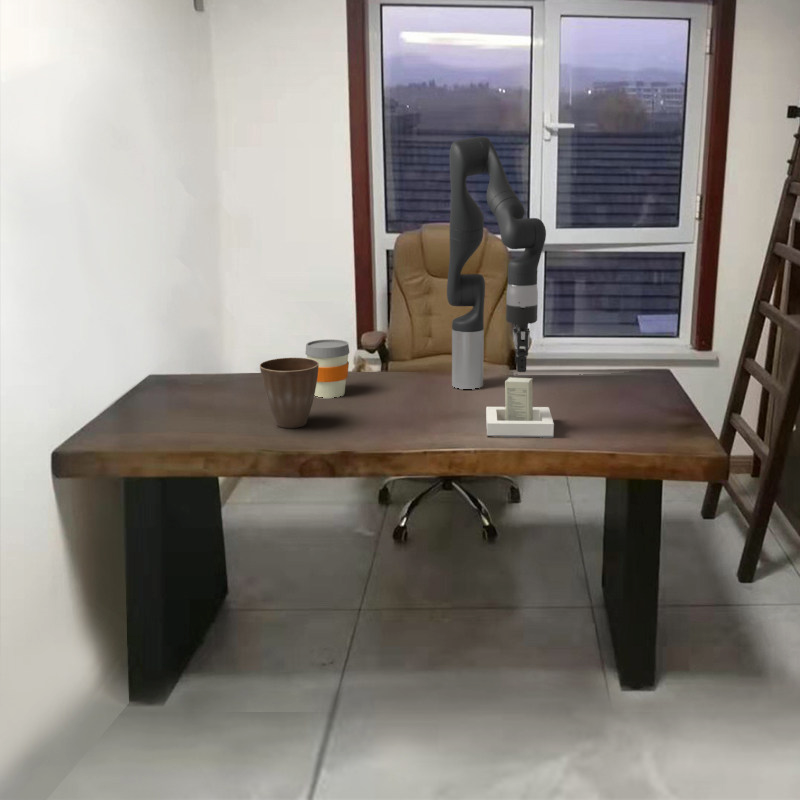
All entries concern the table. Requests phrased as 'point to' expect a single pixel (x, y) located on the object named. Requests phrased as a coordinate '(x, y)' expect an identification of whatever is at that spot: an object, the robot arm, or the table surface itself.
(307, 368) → the plant pot
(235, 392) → the table surface
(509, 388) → the skincare box
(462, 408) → the table surface
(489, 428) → the holder
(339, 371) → the reusable coffee cup
